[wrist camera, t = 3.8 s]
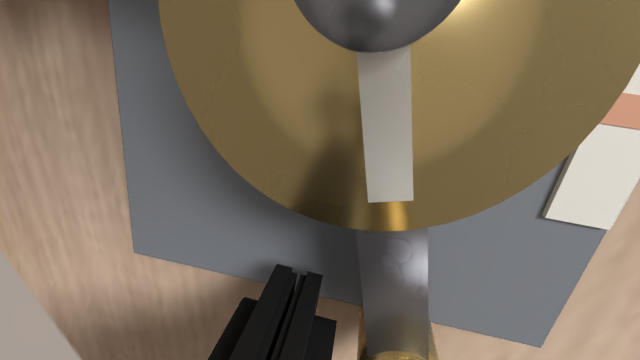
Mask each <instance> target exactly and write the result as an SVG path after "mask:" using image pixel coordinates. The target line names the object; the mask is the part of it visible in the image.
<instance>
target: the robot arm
mask: <svg viewBox="0 0 640 360" xmlns="http://www.w3.org/2000/svg"><path fill="white" fill-rule="evenodd" d="M322 278H323V275H321V274H317V273H313V272H309V271H308V272H307V275H303V274H301V275H300V278H299V281H298V283H297V286H296V289H295V285H296V279H297V273H295V272H292V267H288V266H284V265H280V264H276V266H275V268H274V270H273V272H272V274H271V276H270V278H269V280H268V282H267V284H266V286H265V288H264V290H263V292H262V294H261V296H260V298H259V300H258V301H257V300H253V299H250V298H246V297H244V298H243V299H242V301H241V302H240V304H239V306H238V307H237V309H236V311H235V313H234V314H233V316H232V318H231V320H230V321H229V323H228V325H227V327H226V328H225V330H224V332H223V334H222V335H221V337H220V339H219V341H218V342H217V344H216V346H215V348H214V350H213V351H212V353H211V355H210V357H209V358H208V360H331V359H332V352H333V345H334V338H335V331H336V323H337V321H335V320H331V319H327V318H323V317H319V316H315V313H316V308H317V303H318V298H319V293H320V288H321V283H322ZM294 291H295V292H294Z"/></svg>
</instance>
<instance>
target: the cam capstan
mask: <svg viewBox="0 0 640 360" xmlns="http://www.w3.org/2000/svg"><path fill="white" fill-rule="evenodd" d="M158 5H159V14H160V22H161V27H162V32H163V36H164V41H165V46H166V50H167V54H168V57H169V60H170V63H171V66H172V69H173V72H174V76H175V79H176V81H177V83H178V86H179V88H180V90H181V92H182V95H183V97H184V99H185V101H186V104H187V106H188V108H189V109H190V111H191V113H192V115H193V116H194V118H195V120H196V122H197V123H198V125H199V127H200V128H201V130H202V131H203V133H204V134H205V136H206V137H207V138H208V140H209V141H210V142H211V144H212V145H213V146H214V148H215V149H216V151H217V152H218V153H219V154H220V155H221V156H222V157H223V158H224V159H225V160H226V162H227V163H228V164H229V165H230V166H231V167H232V168H233V169H234V170H235V171H236V172H237V173H238V174H239V175H241V176H242V177H243V178H244V179H245V180H246V181H247V182H249V183H250V184H251V185H252V186H253V187H255V188H256V189H258V190H259V191H261V192H262V193H263V194H265V195H266V196H268V197H269V198H271V199H272V200H274V201H275V202H277V203H279V204H281V205H283V206H285V207H287V208H289V209H291V210H292V211H294V212H297V213H299V214H302V215H304V216H307V217H309V218H312V219H314V220H317V221H320V222H324V223H328V224H332V225H335V226H339V227H344V228H351V229H356V235H357V246H358V257H359V267H360V278H361V289H362V299H363V301H362V303H361V305H360V315H359V333H358V351H357V360H439V358H438V354H437V349H436V345H435V341H434V336H433V332H432V327H431V323H430V319H429V314H428V227H433V226H438V225H443V224H447V223H450V222H453V221H456V220H460V219H463V218H466V217H469V216H472V215H475V214H477V213H479V212H481V211H484V210H486V209H488V208H491V207H493V206H495V205H497V204H500V203H501V202H503V201H505V200H507V199H508V198H510V197H512V196H514V195H515V194H517V193H519V192H521V191H522V190H524V189H526V188H527V187H529V186H530V185H532V184H533V183H534V182H536V181H537V180H538V179H540V178H541V177H543V176H544V175H545V174H547V173H548V172H550V171H551V170H552V169H554V168H555V167H556V166H557V165H558V164H559V163H560V162H561V161H563V160H564V159H565V158H566V157H567V156H568V155H569V154H570V153H571V152H573V151H574V150H575V149H576V148H577V147H578V146H579V145H580V144H581V143H582V142H583V141H584V140H585V139H586V137H587V136H588V135H589V134H590V133H591V132H592V131H593V130H594V129H595V127H596V126H597V125H598V124H599V123H600V122H601V121H602V120H603V118H604V117H605V116H606V115H607V113H608V112H609V110H610V109H611V108H612V106H613V105H614V103H615V102H616V101H617V99H618V98H619V96H620V95H621V94H622V92H623V91H624V89H625V88H626V87H627V85H628V83H629V82H630V80H631V78H632V76H633V74H634V73H635V71H636V69H637V67H638V66H639V64H640V0H158Z"/></svg>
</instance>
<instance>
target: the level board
mask: <svg viewBox="0 0 640 360" xmlns="http://www.w3.org/2000/svg"><path fill="white" fill-rule="evenodd" d="M108 6H109V16H110V25H111V35H112V44H113V54H114V64H115V73H116V83H117V92H118V102H119V112H120V121H121V131H122V140H123V150H124V160H125V169H126V179H127V189H128V198H129V208H130V217H131V227H132V237H133V246H134V253H138V254H142V255H146V256H151V257H155V258H159V259H164V260H168V261H172V262H176V263H181V264H185V265H189V266H193V267H198V268H202V269H206V270H211V271H215V272H219V273H223V274H228V275H232V276H236V277H240V278H245V279H249V280H253V281H258V282H262V283H266V284H267V282H268V280H269V278H270V276H271V274H272V272H273V270H274V268H275V266H276V264H280V265H284V266H288V267H292V272H295V273H297V279H296V285H295V289H296V286H297V283H298V281H299V278H300V275H301V274H303V275H307V272H308V271H309V272H313V273H317V274H321V275H323V278H322V283H321V288H320V293H319V296H322V297H326V298H330V299H334V300H339V301H343V302H347V303H352V304H356V305H361V303H362V301H363V299H362V289H361V278H360V267H359V257H358V246H357V235H356V229H351V228H344V227H339V226H335V225H332V224H328V223H324V222H320V221H317V220H314V219H312V218H309V217H307V216H304V215H302V214H299V213H297V212H294V211H292V210H291V209H289V208H287V207H285V206H283V205H281V204H279V203H277V202H275V201H274V200H272V199H271V198H269V197H268V196H266V195H265V194H263V193H262V192H261V191H259V190H258V189H256V188H255V187H253V186H252V185H251V184H250V183H249V182H247V181H246V180H245V179H244V178H243V177H242V176H241V175H239V174H238V173H237V172H236V171H235V170H234V169H233V168H232V167H231V166H230V165H229V164H228V163H227V162H226V160H225V159H224V158H223V157H222V156H221V155H220V154H219V153H218V152H217V151H216V149H215V148H214V146H213V145H212V144H211V142H210V141H209V140H208V138H207V137H206V136H205V134H204V133H203V131H202V130H201V128H200V127H199V125H198V123H197V122H196V120H195V118H194V116H193V115H192V113H191V111H190V109H189V108H188V106H187V104H186V101H185V99H184V97H183V95H182V92H181V90H180V88H179V86H178V83H177V81H176V79H175V76H174V72H173V69H172V66H171V63H170V60H169V57H168V54H167V50H166V46H165V41H164V36H163V32H162V27H161V22H160V14H159V5H158V0H108ZM639 178H640V64H639V66H638V67H637V69H636V71H635V73H634V74H633V76H632V78H631V80H630V82H629V83H628V85H627V87H626V88H625V89H624V91H623V92H622V94H621V95H620V96H619V98H618V99H617V101H616V102H615V103H614V105H613V106H612V108H611V109H610V110H609V112H608V113H607V115H606V116H605V117H604V118H603V120H602V121H601V122H600V123H599V124H598V125H597V126H596V127H595V129H594V130H593V131H592V132H591V133H590V134H589V135H588V136H587V137H586V139H585V140H584V141H583V142H582V143H581V144H580V145H579V146H578V147H577V148H576V149H575V150H574V151H573V152H571V153H570V154H569V155H568V156H567V157H566V158H565V159H564V160H563V161H561V162H560V163H559V164H558V165H557V166H556V167H555V168H554V169H552V170H551V171H550V172H548V173H547V174H545V175H544V176H543V177H541V178H540V179H538V180H537V181H536V182H534V183H533V184H532V185H530V186H529V187H527V188H526V189H524V190H522V191H521V192H519V193H517V194H515V195H514V196H512V197H510V198H508V199H507V200H505V201H503V202H501V203H500V204H497V205H495V206H493V207H491V208H488V209H486V210H484V211H481V212H479V213H477V214H475V215H472V216H469V217H466V218H463V219H460V220H456V221H453V222H450V223H447V224H443V225H438V226H433V227H428V314H429V319H430V322H433V323H437V324H441V325H446V326H450V327H454V328H458V329H463V330H467V331H471V332H475V333H480V334H484V335H488V336H492V337H497V338H501V339H505V340H510V341H514V342H518V343H522V344H527V345H531V346H535V347H539V348H541V346H542V344H543V343H544V341H545V339H546V337H547V336H548V334H549V332H550V330H551V329H552V327H553V325H554V323H555V321H556V320H557V318H558V316H559V314H560V313H561V311H562V309H563V307H564V306H565V304H566V302H567V300H568V299H569V297H570V295H571V293H572V291H573V290H574V288H575V286H576V284H577V283H578V281H579V279H580V277H581V276H582V274H583V272H584V270H585V268H586V267H587V265H588V263H589V261H590V260H591V258H592V256H593V254H594V253H595V251H596V249H597V247H598V246H599V244H600V242H601V240H602V238H603V237H604V235H605V233H606V231H607V230H610V229H611V227H612V226H613V224H614V222H615V220H616V219H617V217H618V215H619V213H620V212H621V210H622V208H623V206H624V205H625V203H626V201H627V199H628V198H629V196H630V194H631V192H632V191H633V189H634V187H635V185H636V184H637V182H638V180H639Z"/></svg>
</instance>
